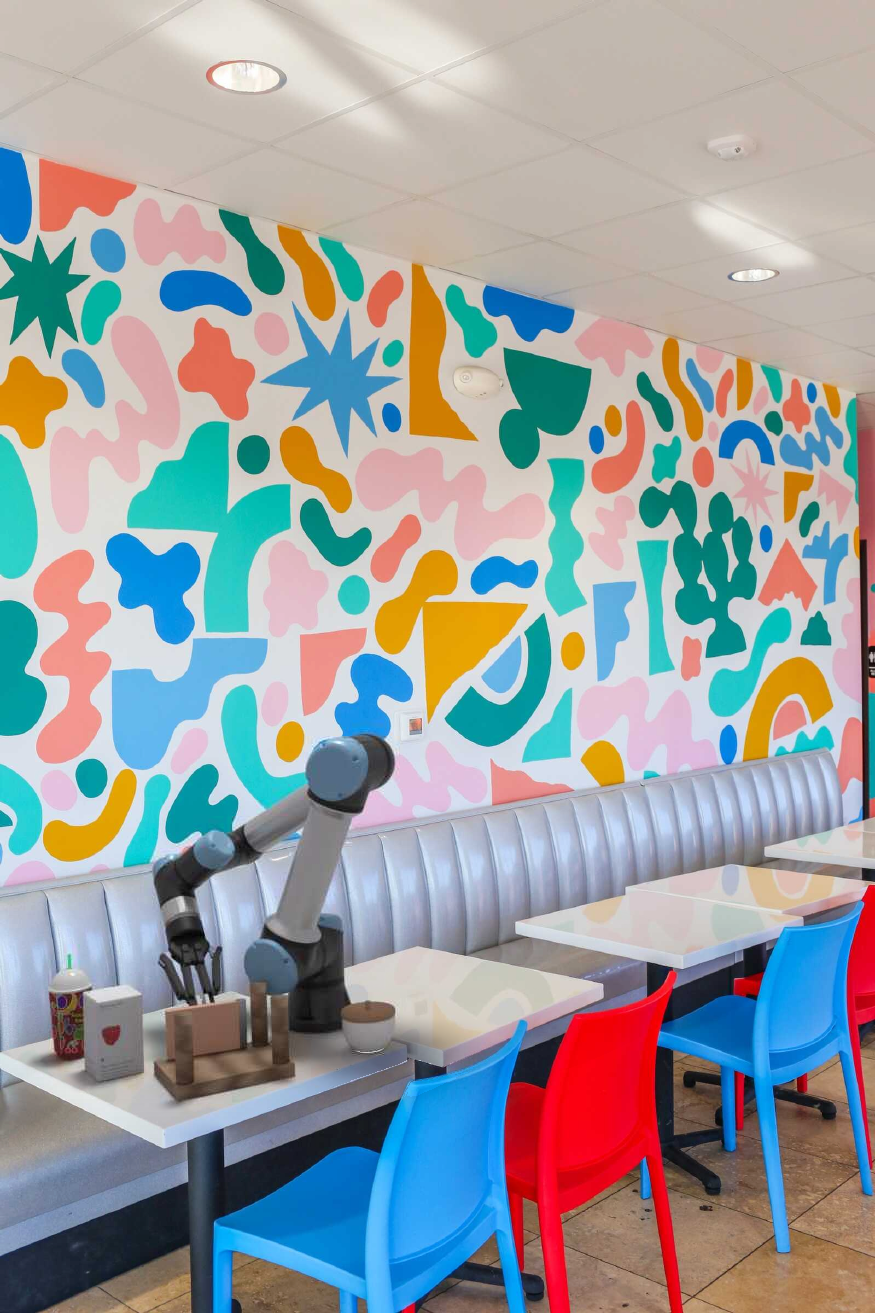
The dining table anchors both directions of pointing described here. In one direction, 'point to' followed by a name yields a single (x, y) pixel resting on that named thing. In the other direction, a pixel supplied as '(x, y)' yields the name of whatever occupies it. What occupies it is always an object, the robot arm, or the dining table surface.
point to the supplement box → (113, 1032)
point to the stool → (230, 1053)
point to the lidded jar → (368, 1025)
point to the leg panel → (211, 1027)
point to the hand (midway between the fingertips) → (207, 1028)
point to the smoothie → (68, 1011)
